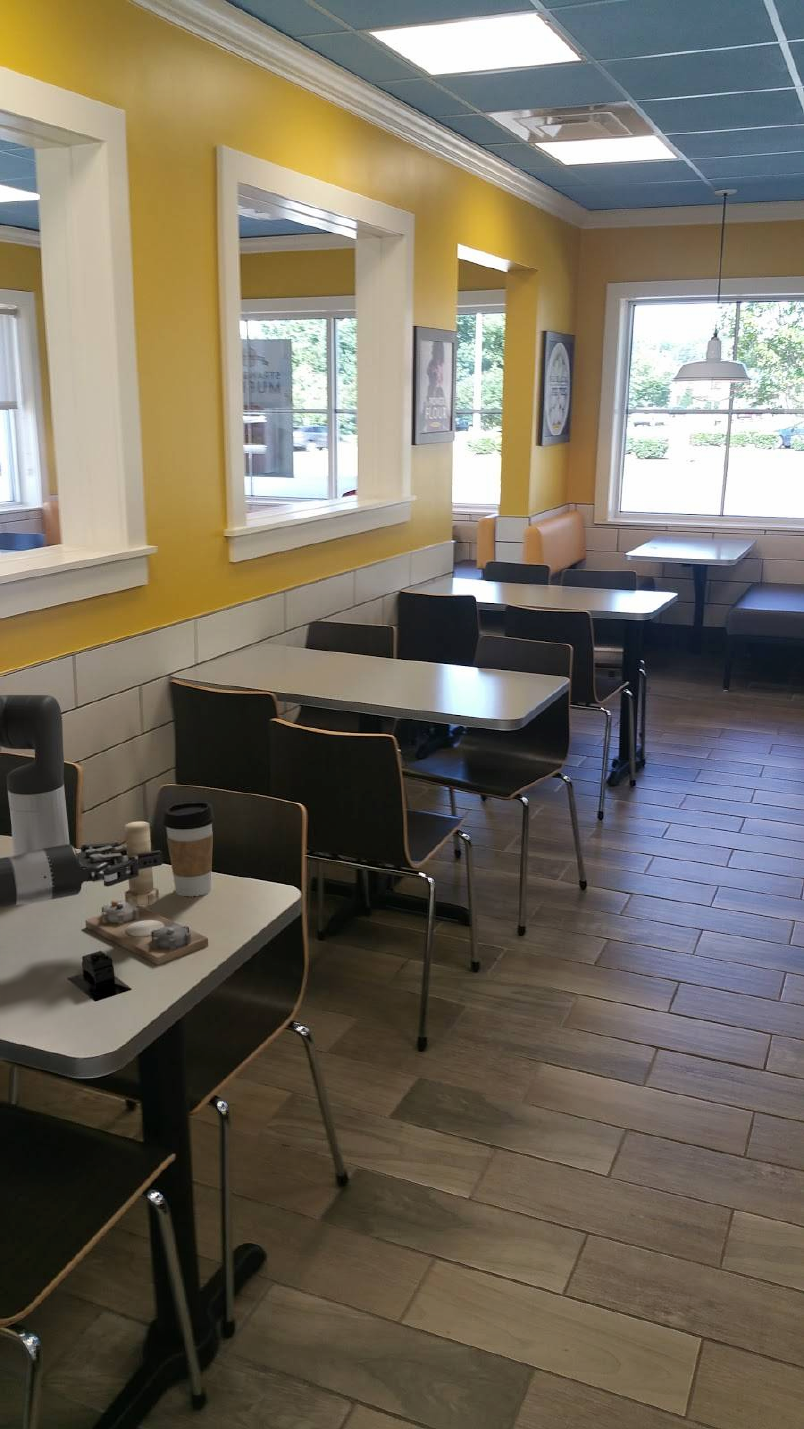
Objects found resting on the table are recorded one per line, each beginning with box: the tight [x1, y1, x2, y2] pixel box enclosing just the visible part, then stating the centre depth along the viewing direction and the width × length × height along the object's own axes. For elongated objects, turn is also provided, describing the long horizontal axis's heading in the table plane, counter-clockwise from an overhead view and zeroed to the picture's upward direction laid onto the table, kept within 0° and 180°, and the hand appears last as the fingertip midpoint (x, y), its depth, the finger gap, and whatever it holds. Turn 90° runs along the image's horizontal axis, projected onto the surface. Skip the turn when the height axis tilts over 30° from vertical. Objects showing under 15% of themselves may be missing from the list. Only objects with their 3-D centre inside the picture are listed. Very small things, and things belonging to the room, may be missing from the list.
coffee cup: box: [162, 801, 215, 898], centre depth 193 cm, size 8×8×15 cm
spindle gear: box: [124, 821, 160, 907], centre depth 174 cm, size 5×5×12 cm
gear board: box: [85, 900, 209, 966], centre depth 176 cm, size 20×9×3 cm, turn 45°
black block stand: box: [66, 950, 133, 1002], centre depth 161 cm, size 12×7×5 cm, turn 39°
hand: (157, 853), depth 175 cm, fingers closed on spindle gear, 3 cm apart
